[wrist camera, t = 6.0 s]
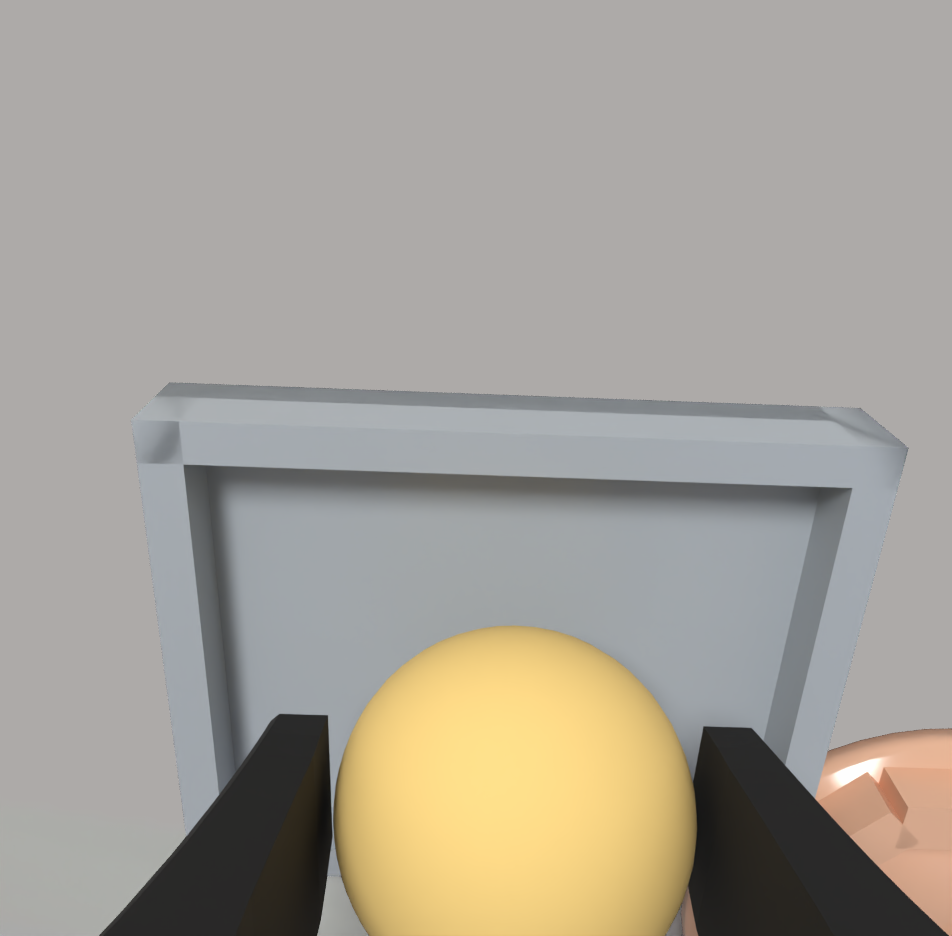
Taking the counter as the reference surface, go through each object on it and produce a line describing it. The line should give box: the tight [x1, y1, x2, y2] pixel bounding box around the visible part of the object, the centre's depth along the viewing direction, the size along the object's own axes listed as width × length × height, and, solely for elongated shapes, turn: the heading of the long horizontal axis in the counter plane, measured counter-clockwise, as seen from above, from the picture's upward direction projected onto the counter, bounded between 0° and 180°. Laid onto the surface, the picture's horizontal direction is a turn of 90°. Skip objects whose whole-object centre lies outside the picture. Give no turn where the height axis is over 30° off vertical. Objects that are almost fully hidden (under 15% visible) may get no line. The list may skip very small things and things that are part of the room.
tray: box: [131, 383, 908, 876], centre depth 13 cm, size 10×8×2 cm
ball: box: [333, 625, 697, 936], centre depth 11 cm, size 4×4×4 cm
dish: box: [681, 729, 952, 936], centre depth 16 cm, size 8×8×1 cm
